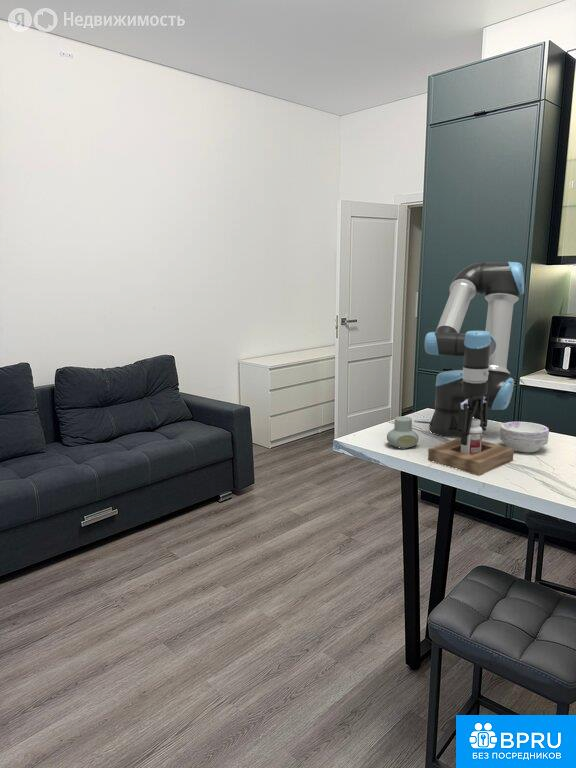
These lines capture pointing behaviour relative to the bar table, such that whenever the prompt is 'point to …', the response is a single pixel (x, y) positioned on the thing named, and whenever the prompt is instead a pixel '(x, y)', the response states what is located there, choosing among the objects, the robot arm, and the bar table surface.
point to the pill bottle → (475, 437)
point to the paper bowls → (524, 436)
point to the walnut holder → (473, 464)
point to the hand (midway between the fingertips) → (470, 451)
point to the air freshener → (402, 433)
